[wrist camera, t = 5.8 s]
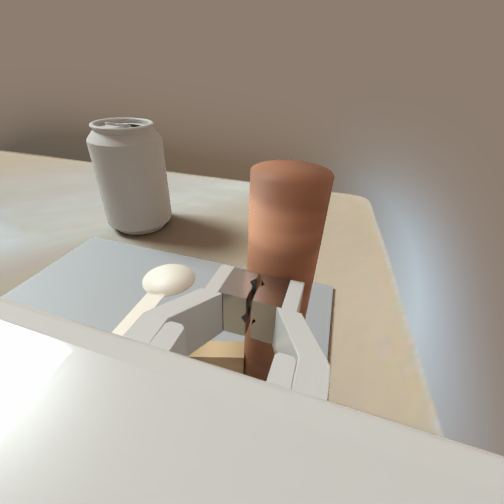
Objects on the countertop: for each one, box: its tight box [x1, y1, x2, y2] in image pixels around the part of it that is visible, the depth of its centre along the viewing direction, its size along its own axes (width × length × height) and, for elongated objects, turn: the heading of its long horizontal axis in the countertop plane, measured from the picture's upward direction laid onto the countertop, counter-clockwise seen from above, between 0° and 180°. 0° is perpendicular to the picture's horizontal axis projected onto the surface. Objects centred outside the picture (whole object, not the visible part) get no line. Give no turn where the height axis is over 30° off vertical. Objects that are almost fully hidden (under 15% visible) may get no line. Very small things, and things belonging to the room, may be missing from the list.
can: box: [86, 118, 172, 235], centre depth 33 cm, size 8×8×12 cm
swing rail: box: [188, 160, 334, 381], centre depth 13 cm, size 12×3×14 cm, turn 90°
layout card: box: [0, 237, 333, 359], centre depth 21 cm, size 27×22×1 cm
